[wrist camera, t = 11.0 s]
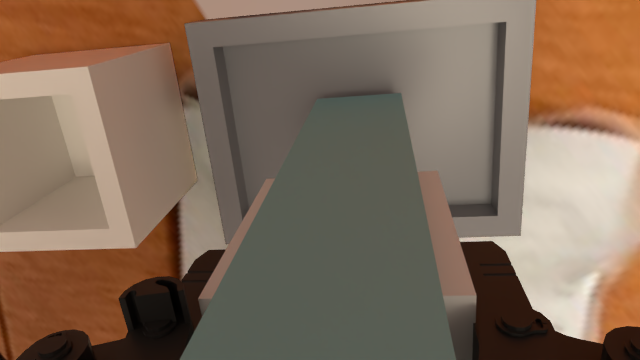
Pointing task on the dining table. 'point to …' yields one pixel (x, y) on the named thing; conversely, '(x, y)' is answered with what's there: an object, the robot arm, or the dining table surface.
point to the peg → (335, 251)
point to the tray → (374, 79)
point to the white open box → (90, 148)
